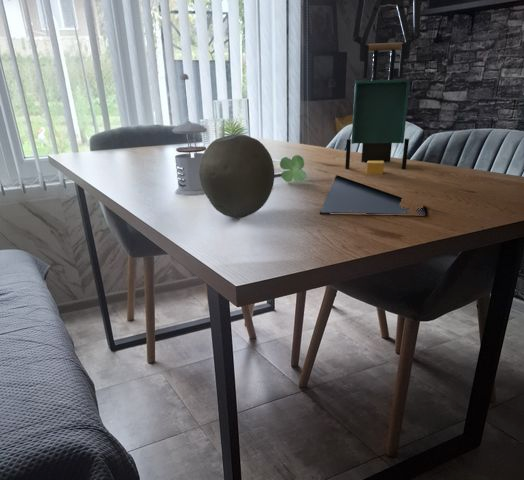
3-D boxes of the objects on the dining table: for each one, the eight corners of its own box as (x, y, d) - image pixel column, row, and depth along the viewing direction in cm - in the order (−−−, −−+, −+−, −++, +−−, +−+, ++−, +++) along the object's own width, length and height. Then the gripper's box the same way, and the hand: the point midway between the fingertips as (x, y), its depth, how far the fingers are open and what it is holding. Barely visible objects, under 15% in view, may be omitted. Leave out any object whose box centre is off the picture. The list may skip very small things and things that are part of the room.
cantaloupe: (198, 213, 99) (191, 133, 91) (265, 207, 102) (263, 129, 94) (209, 231, 87) (201, 141, 79) (284, 224, 90) (283, 136, 82)
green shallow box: (358, 46, 118) (357, 43, 114) (412, 43, 115) (413, 40, 111) (352, 143, 127) (351, 143, 123) (402, 143, 124) (403, 143, 120)
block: (366, 179, 122) (366, 176, 125) (382, 180, 121) (382, 177, 125) (367, 163, 120) (367, 160, 123) (383, 163, 119) (383, 160, 123)
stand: (348, 167, 141) (349, 133, 137) (403, 167, 138) (406, 133, 134) (344, 175, 130) (346, 139, 125) (404, 176, 127) (409, 139, 122)
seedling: (294, 198, 130) (294, 189, 124) (274, 177, 131) (272, 167, 124) (313, 178, 130) (314, 169, 123) (292, 158, 131) (292, 147, 124)
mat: (336, 176, 129) (336, 175, 129) (414, 177, 125) (414, 175, 125) (319, 214, 95) (319, 212, 95) (425, 216, 91) (425, 214, 91)
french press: (173, 196, 114) (159, 74, 102) (176, 186, 124) (163, 74, 112) (215, 193, 115) (206, 72, 102) (214, 184, 125) (206, 73, 112)
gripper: (441, -50, 102) (426, 75, 113) (345, -42, 106) (340, 78, 117) (445, -58, 95) (429, 76, 107) (342, -49, 99) (337, 79, 111)
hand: (382, 77), depth 112 cm, fingers open, 7 cm apart
